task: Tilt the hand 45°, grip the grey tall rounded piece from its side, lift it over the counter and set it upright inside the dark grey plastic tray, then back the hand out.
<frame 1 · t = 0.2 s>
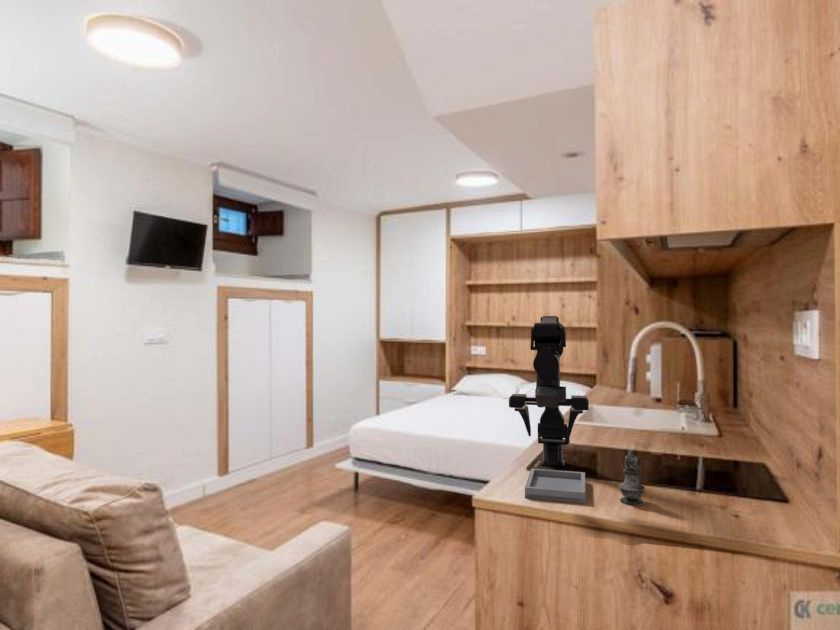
hand: (548, 437, 125), 14 cm above the worktop, tool pointing down, fingers open, 9 cm apart
grey tall rounded piece: (632, 502, 120), on the worktop
grey tray: (556, 489, 129), on the worktop
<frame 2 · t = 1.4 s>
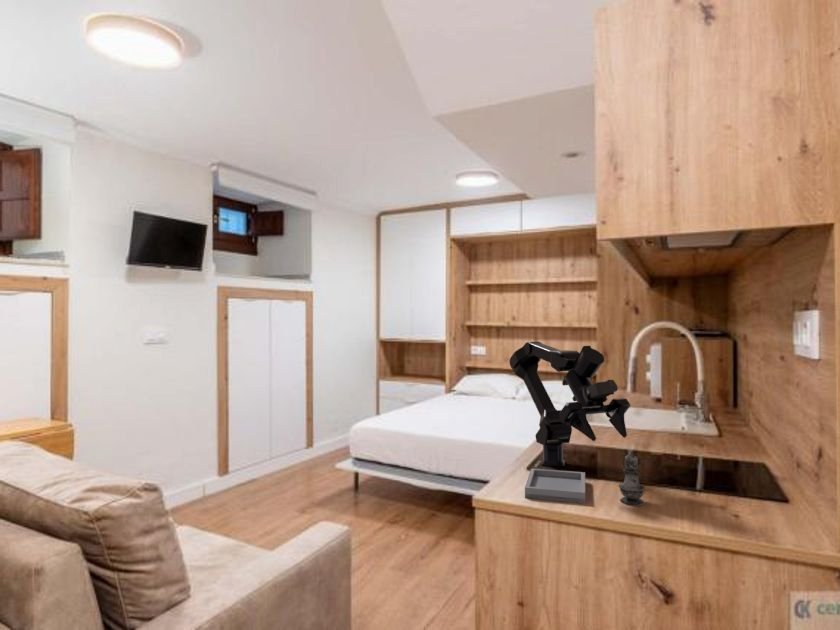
hand: (610, 438, 127), 13 cm above the worktop, tool tilted 45°, fingers open, 9 cm apart
nothing on the worktop moved.
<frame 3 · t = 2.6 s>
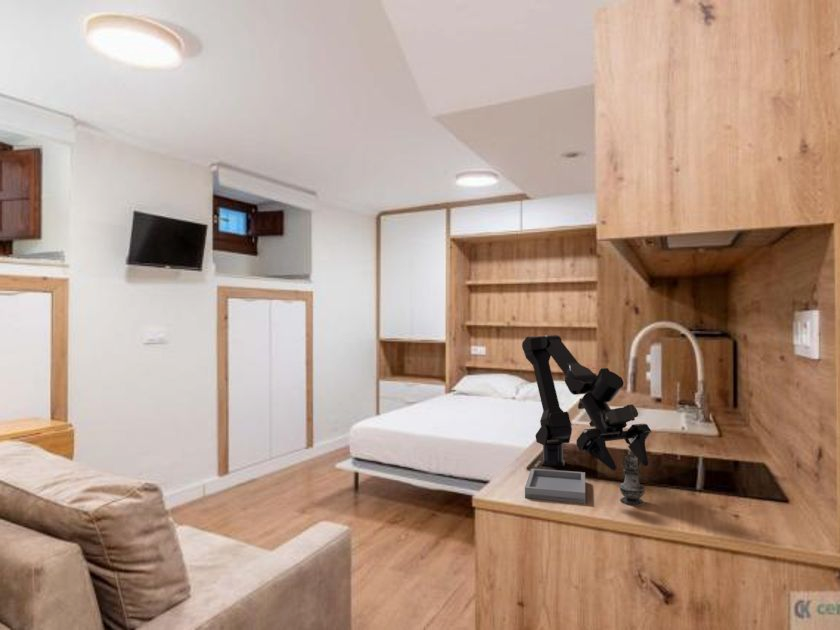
hand: (631, 467, 120), 8 cm above the worktop, tool tilted 45°, fingers open, 9 cm apart
nothing on the worktop moved.
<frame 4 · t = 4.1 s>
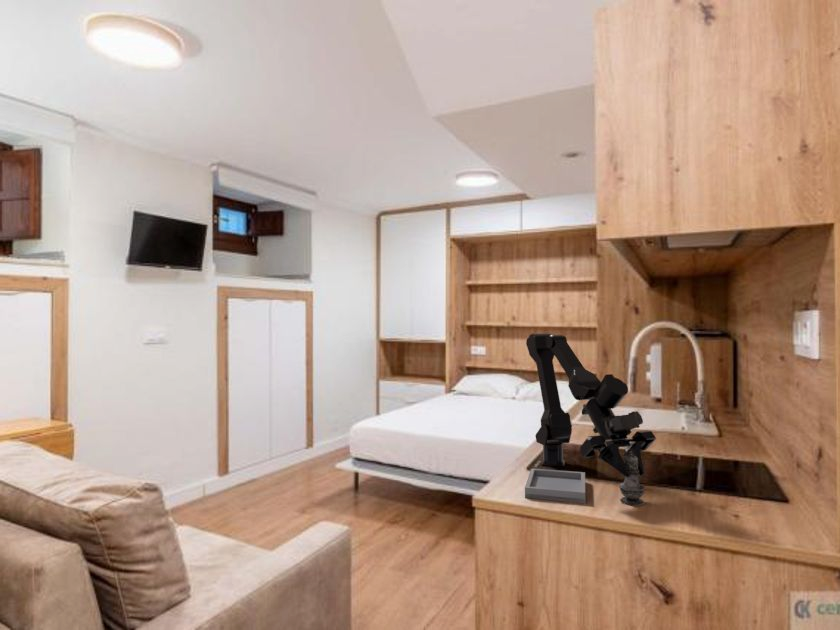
hand: (635, 475, 119), 7 cm above the worktop, tool tilted 45°, fingers closed on grey tall rounded piece, 4 cm apart
grey tall rounded piece: (632, 502, 120), on the worktop, touching gripper
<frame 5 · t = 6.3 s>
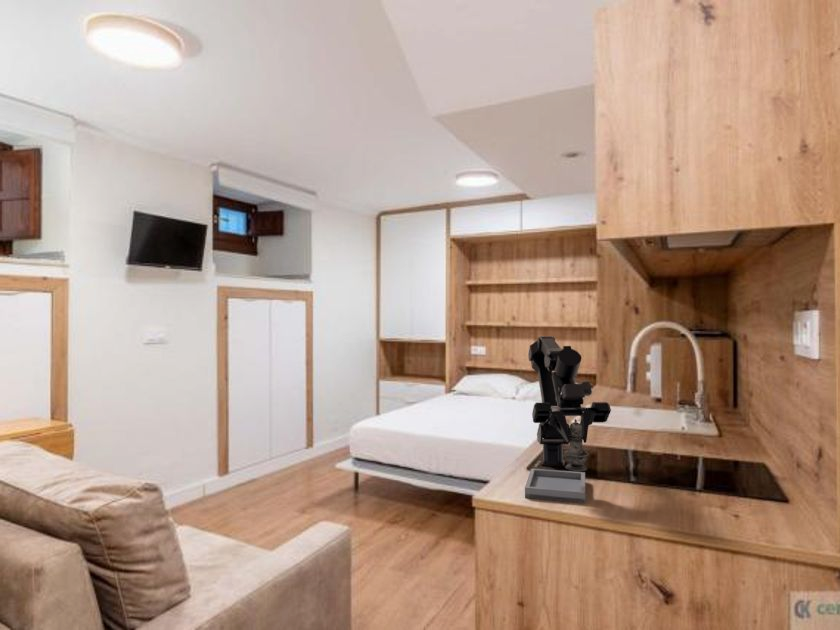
hand: (577, 442, 124), 13 cm above the worktop, tool tilted 45°, fingers closed on grey tall rounded piece, 4 cm apart
grey tall rounded piece: (576, 468, 125), point 7 cm above the worktop, touching gripper
when the fingers open (9 cm above the worktop, at t = 8.5 s): grey tall rounded piece drops 1 cm, resting on grey tray.
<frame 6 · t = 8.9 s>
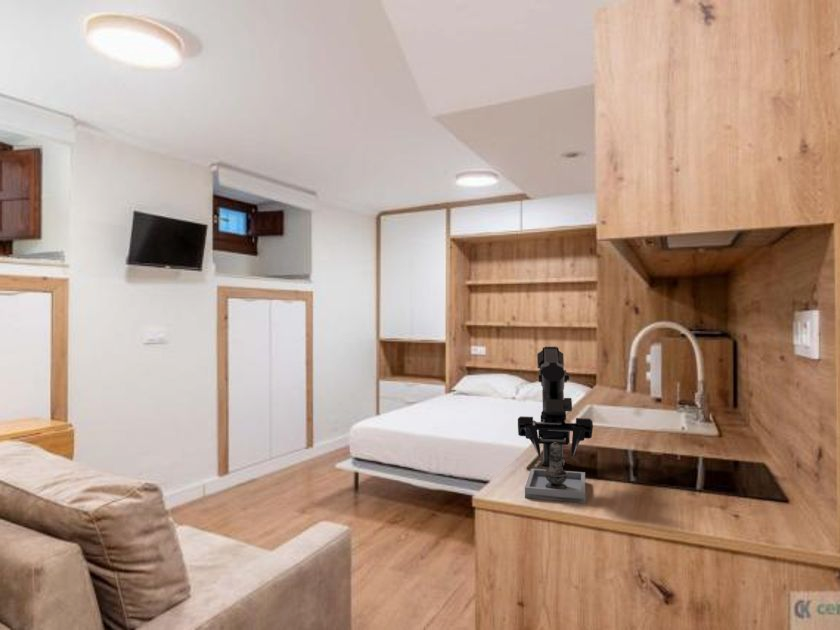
hand: (555, 456, 127), 9 cm above the worktop, tool tilted 45°, fingers open, 8 cm apart
grey tall rounded piece: (556, 487, 128), point 1 cm above the worktop, touching grey tray
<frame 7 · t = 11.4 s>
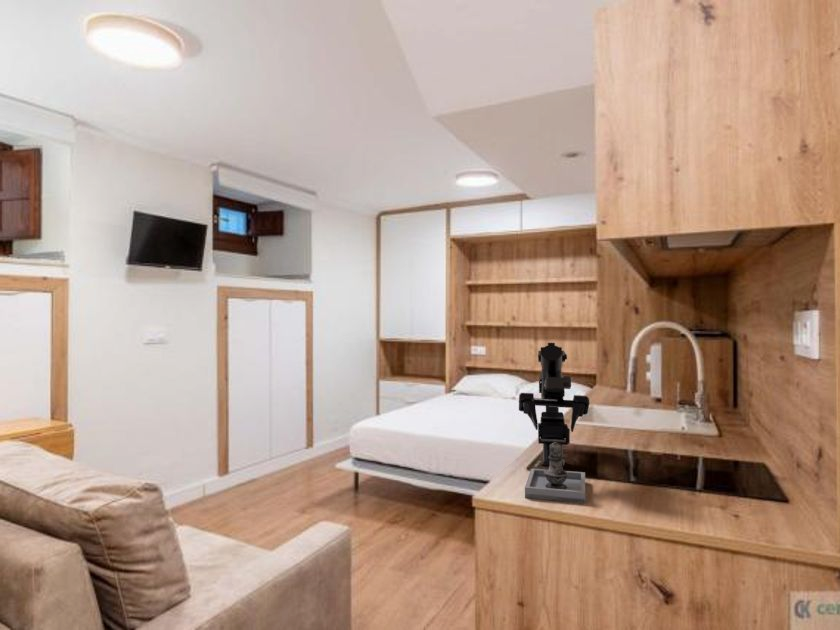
hand: (554, 430, 136), 14 cm above the worktop, tool tilted 45°, fingers open, 9 cm apart
nothing on the worktop moved.
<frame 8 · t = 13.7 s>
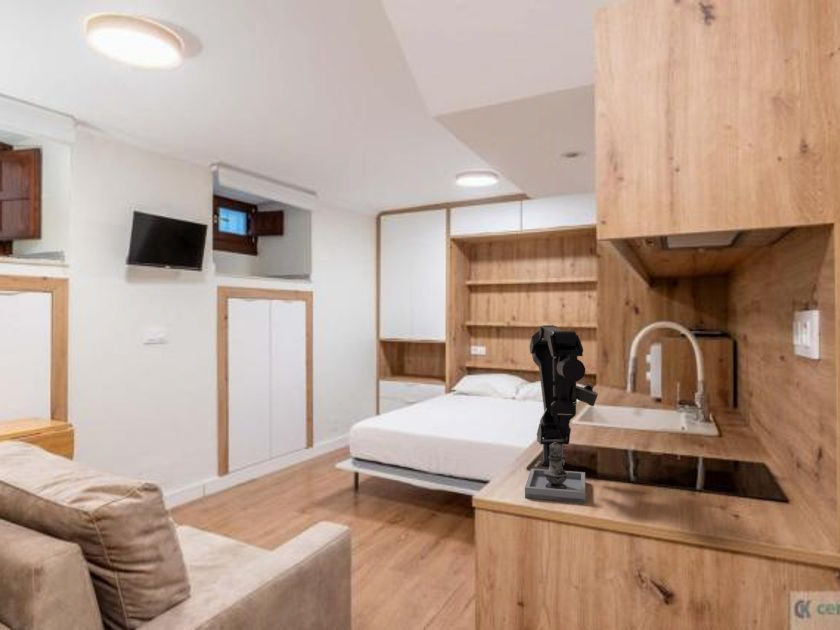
hand: (564, 434, 137), 12 cm above the worktop, tool pointing down, fingers open, 9 cm apart
nothing on the worktop moved.
at the end: grey tall rounded piece inside the target area on the grey tray (0.9 cm from its centre), point 0.8 cm above the grey tray's base; grey tall rounded piece tilted 0°; the gripper is holding nothing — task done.
